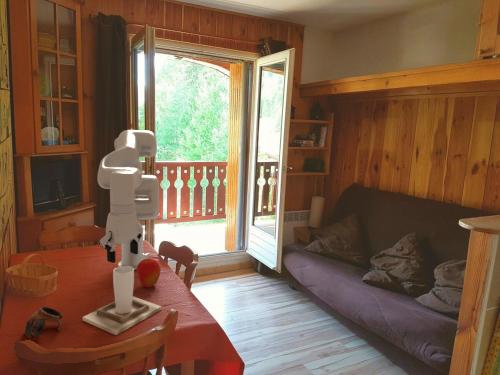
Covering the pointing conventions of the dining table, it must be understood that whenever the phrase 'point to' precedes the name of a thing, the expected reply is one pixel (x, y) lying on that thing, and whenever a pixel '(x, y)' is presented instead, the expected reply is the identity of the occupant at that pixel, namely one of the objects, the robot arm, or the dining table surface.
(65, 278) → the dining table surface
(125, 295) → the drinking glass
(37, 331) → the pottery mug
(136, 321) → the locating board
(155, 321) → the dining table surface
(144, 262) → the apple
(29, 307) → the dining table surface
